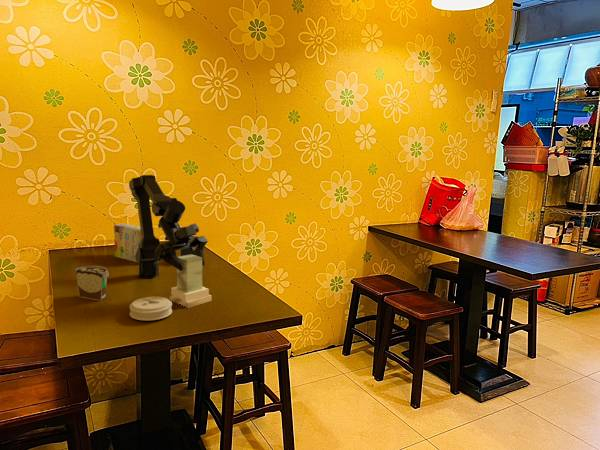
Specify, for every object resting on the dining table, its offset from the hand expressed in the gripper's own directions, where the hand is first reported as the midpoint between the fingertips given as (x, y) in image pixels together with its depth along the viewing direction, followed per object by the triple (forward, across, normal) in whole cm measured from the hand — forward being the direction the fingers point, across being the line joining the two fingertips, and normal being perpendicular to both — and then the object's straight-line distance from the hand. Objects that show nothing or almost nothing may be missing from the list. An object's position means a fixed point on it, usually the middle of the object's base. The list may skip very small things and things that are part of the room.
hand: (193, 267), depth 153 cm
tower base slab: (+8, 0, +10) cm, 13 cm away
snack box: (-34, +16, +51) cm, 63 cm away
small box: (-20, +32, +38) cm, 54 cm away
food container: (-10, -20, +28) cm, 36 cm away
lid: (+9, -16, +9) cm, 21 cm away
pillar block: (+4, 0, +6) cm, 8 cm away
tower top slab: (+6, 0, +8) cm, 10 cm away
